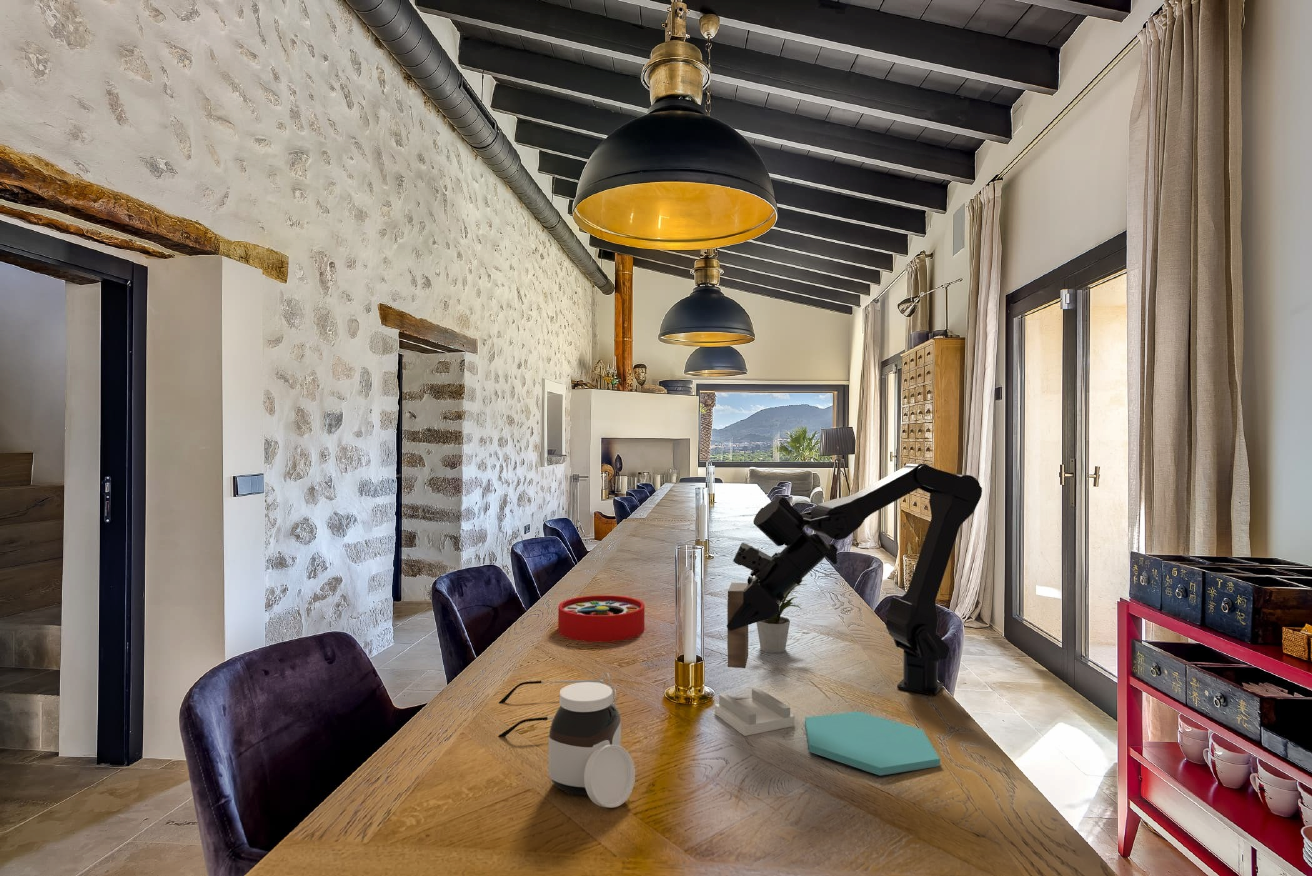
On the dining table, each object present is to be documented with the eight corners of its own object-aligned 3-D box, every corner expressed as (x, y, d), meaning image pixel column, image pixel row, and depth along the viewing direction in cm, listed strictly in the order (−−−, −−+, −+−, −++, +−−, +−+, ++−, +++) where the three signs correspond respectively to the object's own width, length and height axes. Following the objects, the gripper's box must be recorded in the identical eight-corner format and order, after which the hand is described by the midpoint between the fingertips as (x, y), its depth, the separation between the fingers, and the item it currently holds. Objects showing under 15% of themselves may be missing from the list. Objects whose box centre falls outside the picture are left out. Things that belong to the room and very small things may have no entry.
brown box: (748, 655, 122) (748, 583, 122) (745, 668, 116) (745, 591, 116) (730, 654, 123) (730, 582, 123) (726, 666, 116) (726, 590, 116)
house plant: (817, 662, 135) (817, 580, 135) (747, 661, 135) (747, 579, 136) (803, 641, 149) (803, 566, 149) (739, 640, 150) (740, 566, 150)
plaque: (884, 720, 110) (776, 733, 103) (884, 708, 110) (776, 720, 103) (968, 768, 94) (847, 787, 87) (968, 753, 94) (847, 771, 87)
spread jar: (577, 759, 94) (578, 674, 94) (653, 774, 90) (654, 686, 90) (530, 802, 83) (531, 706, 83) (615, 822, 78) (616, 720, 78)
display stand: (762, 705, 113) (762, 687, 113) (794, 725, 105) (794, 706, 105) (714, 713, 110) (714, 695, 110) (744, 736, 101) (744, 715, 101)
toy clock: (656, 612, 152) (567, 619, 146) (655, 638, 152) (567, 646, 146) (630, 592, 171) (551, 598, 165) (630, 616, 171) (551, 622, 165)
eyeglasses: (623, 732, 103) (624, 699, 103) (498, 743, 99) (498, 709, 99) (608, 694, 119) (608, 665, 119) (498, 702, 115) (498, 673, 115)
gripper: (763, 522, 128) (705, 578, 130) (758, 535, 109) (690, 601, 112) (806, 565, 126) (746, 621, 128) (808, 586, 108) (738, 652, 110)
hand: (730, 622), depth 120 cm, fingers closed on brown box, 7 cm apart
